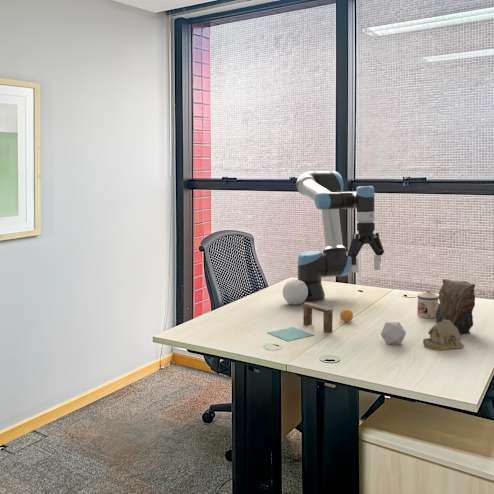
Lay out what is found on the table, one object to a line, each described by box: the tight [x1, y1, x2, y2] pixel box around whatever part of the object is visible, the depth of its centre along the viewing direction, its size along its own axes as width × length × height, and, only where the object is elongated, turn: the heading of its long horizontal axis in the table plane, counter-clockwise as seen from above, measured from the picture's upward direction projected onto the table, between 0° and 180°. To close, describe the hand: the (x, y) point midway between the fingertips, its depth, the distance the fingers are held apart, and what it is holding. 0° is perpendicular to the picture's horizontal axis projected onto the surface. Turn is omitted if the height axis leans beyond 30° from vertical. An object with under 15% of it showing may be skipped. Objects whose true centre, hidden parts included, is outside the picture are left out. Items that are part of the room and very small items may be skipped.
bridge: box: [302, 302, 334, 334], centre depth 227 cm, size 3×14×9 cm, turn 33°
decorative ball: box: [282, 279, 308, 306], centre depth 266 cm, size 12×12×12 cm
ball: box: [339, 308, 354, 323], centre depth 236 cm, size 6×6×6 cm
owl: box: [435, 278, 476, 335], centre depth 221 cm, size 13×13×20 cm
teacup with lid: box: [416, 288, 440, 319], centre depth 242 cm, size 12×9×12 cm
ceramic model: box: [422, 319, 464, 351], centre depth 204 cm, size 14×11×10 cm
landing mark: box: [266, 326, 314, 342], centre depth 220 cm, size 13×13×1 cm
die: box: [380, 321, 407, 346], centre depth 207 cm, size 8×9×10 cm
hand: (366, 271), depth 242 cm, fingers open, 13 cm apart
